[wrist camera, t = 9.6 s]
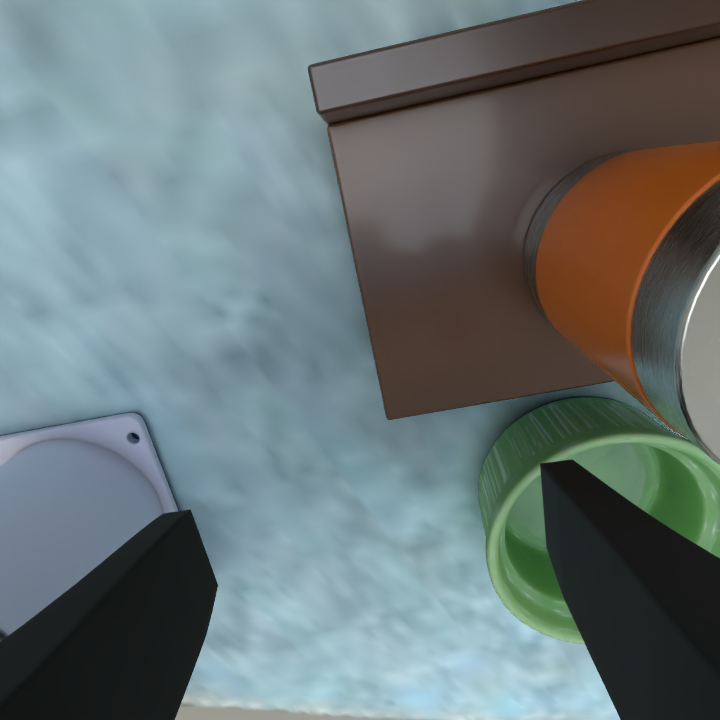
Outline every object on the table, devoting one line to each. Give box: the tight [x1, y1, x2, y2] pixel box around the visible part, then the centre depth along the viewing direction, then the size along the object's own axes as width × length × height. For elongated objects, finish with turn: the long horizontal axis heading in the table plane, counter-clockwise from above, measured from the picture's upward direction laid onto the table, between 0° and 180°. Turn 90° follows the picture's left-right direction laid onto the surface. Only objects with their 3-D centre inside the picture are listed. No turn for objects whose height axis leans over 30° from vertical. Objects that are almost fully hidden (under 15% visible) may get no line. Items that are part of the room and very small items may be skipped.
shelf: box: [308, 0, 720, 420], centre depth 15 cm, size 10×15×6 cm, turn 101°
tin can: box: [523, 140, 720, 465], centre depth 11 cm, size 6×6×8 cm
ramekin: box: [478, 397, 720, 644], centre depth 20 cm, size 9×9×4 cm
